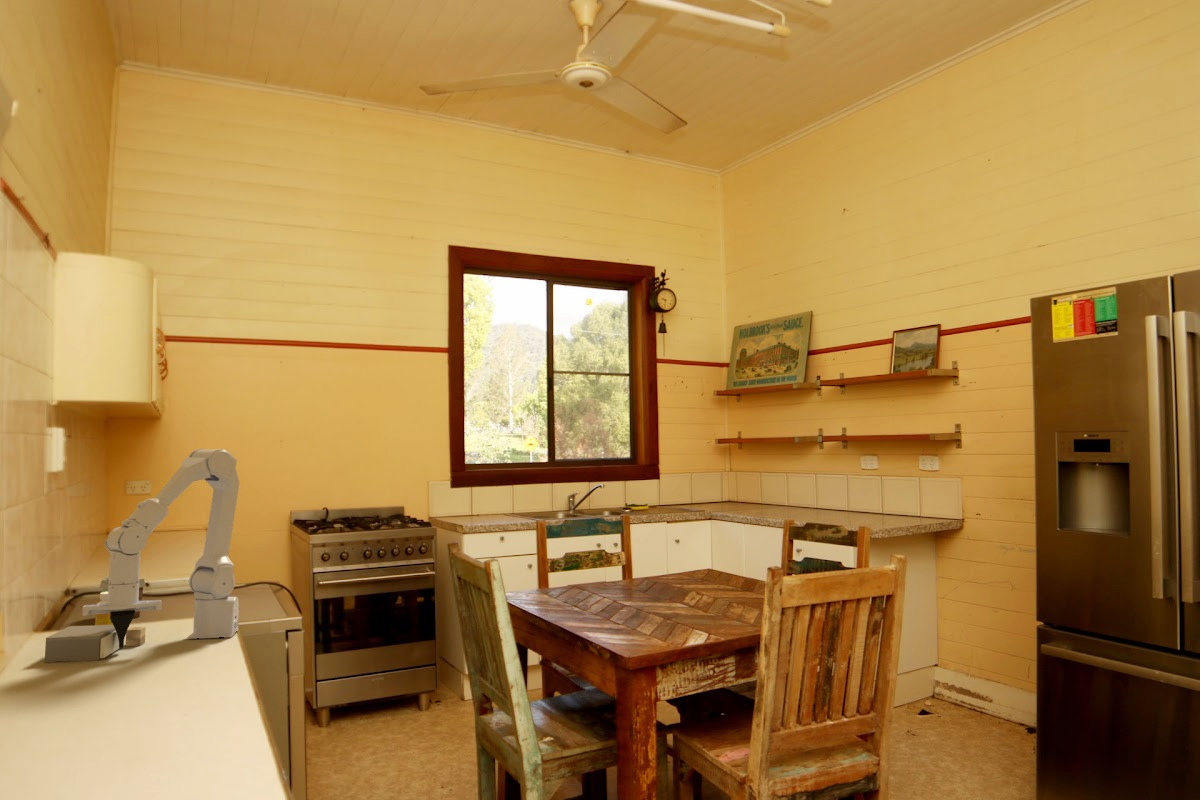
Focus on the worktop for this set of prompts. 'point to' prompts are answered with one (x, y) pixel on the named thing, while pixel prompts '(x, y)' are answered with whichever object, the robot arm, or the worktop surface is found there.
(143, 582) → the food container
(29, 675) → the worktop surface
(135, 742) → the worktop surface
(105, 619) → the supplement bottle
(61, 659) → the grey boxy piece
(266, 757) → the worktop surface
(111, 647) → the tray
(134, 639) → the block
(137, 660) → the worktop surface
